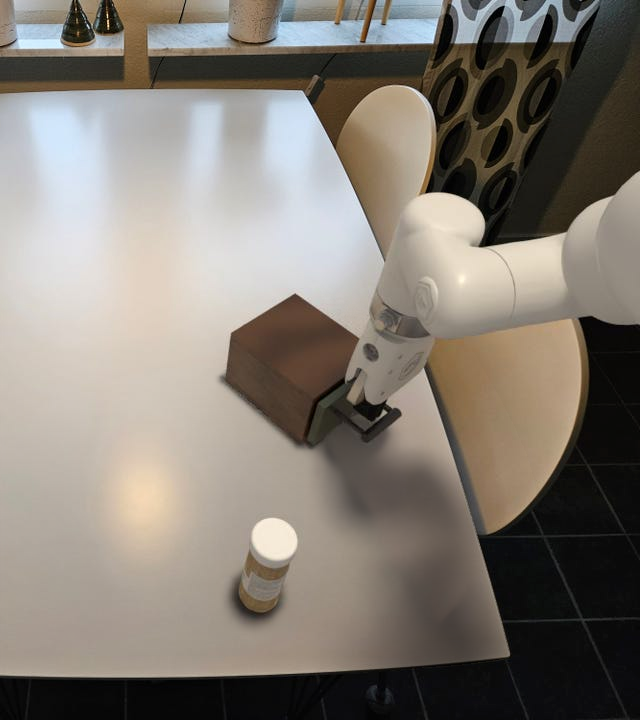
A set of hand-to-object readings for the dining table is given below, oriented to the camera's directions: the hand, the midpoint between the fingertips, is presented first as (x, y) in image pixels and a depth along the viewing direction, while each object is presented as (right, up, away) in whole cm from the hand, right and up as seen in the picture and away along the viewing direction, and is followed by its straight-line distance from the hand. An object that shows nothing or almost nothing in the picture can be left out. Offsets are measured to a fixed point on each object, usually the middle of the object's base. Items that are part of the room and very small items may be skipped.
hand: (366, 412), depth 82 cm
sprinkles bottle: (-15, -20, -10) cm, 27 cm away
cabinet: (-7, +3, +10) cm, 13 cm away
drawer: (-4, 0, +7) cm, 8 cm away
